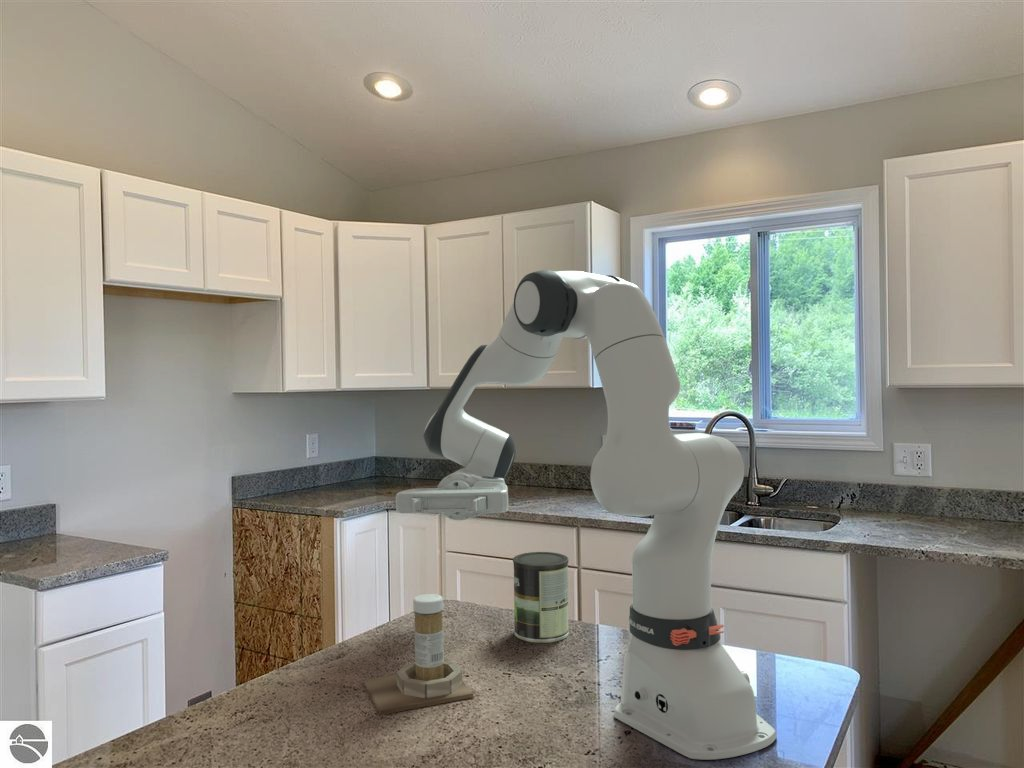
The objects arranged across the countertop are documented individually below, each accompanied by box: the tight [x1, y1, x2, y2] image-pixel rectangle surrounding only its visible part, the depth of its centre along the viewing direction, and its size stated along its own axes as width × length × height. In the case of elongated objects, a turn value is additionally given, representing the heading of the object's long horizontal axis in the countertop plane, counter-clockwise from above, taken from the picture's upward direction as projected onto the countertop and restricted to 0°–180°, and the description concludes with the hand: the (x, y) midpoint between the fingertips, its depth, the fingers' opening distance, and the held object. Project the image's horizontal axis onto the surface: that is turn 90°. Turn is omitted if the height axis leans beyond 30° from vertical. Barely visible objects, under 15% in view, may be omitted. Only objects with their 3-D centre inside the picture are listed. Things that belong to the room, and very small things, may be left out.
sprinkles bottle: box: [412, 593, 445, 681], centre depth 115 cm, size 5×5×13 cm
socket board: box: [362, 660, 474, 716], centre depth 115 cm, size 12×14×3 cm
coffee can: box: [512, 551, 570, 644], centre depth 139 cm, size 10×10×14 cm
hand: (444, 506), depth 127 cm, fingers open, 8 cm apart
